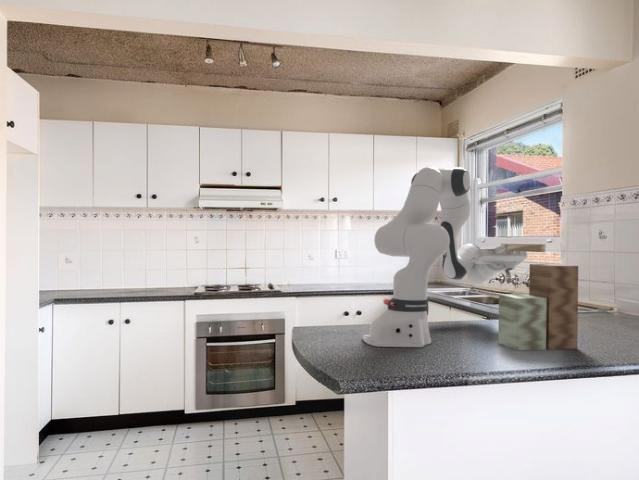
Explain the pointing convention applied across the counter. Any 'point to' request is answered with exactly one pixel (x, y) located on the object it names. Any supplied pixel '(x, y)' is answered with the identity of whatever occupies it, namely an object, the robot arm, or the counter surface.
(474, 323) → the counter surface
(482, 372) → the counter surface
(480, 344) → the counter surface
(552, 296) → the stand
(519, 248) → the batten
